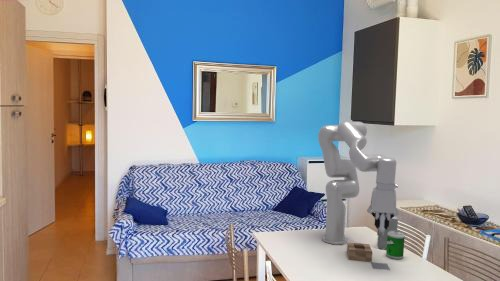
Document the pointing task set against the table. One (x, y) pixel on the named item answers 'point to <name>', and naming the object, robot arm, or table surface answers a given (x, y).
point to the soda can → (395, 244)
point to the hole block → (359, 252)
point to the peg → (381, 224)
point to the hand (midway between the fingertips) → (381, 227)
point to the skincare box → (392, 226)
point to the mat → (380, 266)
